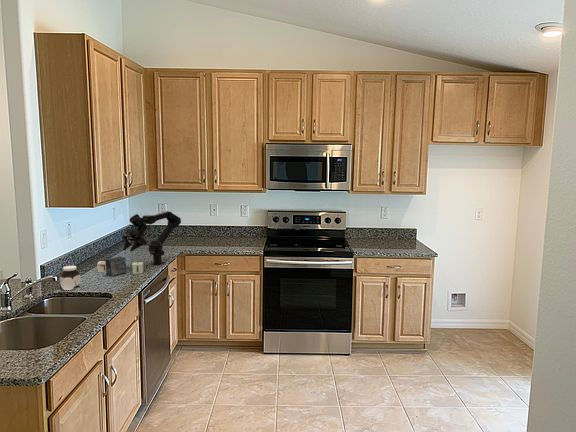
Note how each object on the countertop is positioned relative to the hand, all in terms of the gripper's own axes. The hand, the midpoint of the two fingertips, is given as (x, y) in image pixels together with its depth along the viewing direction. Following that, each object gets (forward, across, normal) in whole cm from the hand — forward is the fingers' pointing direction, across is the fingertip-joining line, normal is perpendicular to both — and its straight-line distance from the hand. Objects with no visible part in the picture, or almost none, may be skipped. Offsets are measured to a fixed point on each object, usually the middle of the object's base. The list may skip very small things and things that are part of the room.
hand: (127, 250), depth 288 cm
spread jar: (+40, +3, -20) cm, 45 cm away
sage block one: (+9, +8, +11) cm, 16 cm away
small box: (+16, 0, +3) cm, 17 cm away
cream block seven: (+16, -14, +4) cm, 21 cm away
